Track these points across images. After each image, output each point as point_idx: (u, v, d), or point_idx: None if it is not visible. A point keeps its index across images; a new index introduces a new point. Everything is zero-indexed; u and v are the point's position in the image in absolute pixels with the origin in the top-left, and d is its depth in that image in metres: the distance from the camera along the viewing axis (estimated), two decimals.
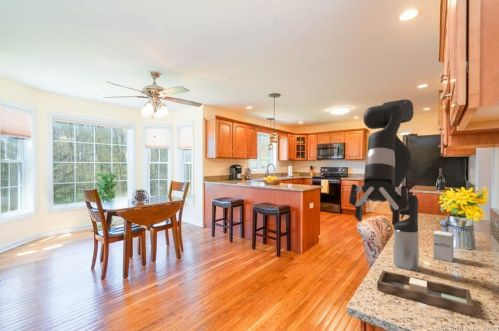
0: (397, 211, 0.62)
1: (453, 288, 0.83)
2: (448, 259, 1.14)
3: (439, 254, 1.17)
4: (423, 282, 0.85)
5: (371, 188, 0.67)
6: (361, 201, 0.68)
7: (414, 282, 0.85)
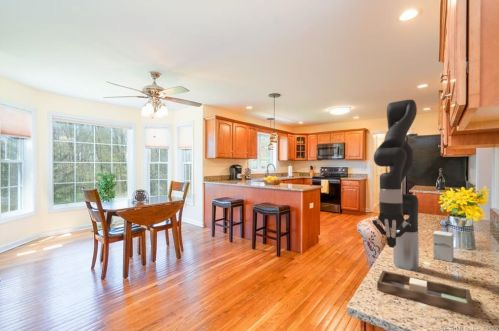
0: (394, 238, 0.89)
1: (453, 288, 0.83)
2: (448, 259, 1.14)
3: (439, 254, 1.17)
4: (423, 282, 0.85)
5: (386, 220, 0.90)
6: (388, 232, 0.90)
7: (414, 282, 0.85)
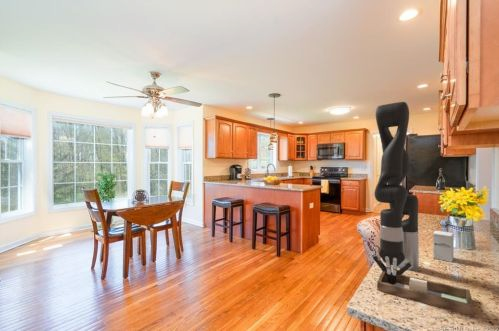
0: (395, 276, 0.89)
1: (453, 288, 0.83)
2: (448, 259, 1.14)
3: (439, 254, 1.17)
4: (423, 282, 0.85)
5: (386, 257, 0.89)
6: (389, 269, 0.90)
7: (414, 282, 0.85)
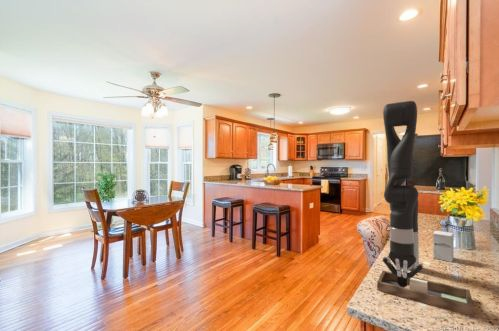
0: (405, 278, 0.87)
1: (453, 288, 0.83)
2: (448, 259, 1.14)
3: (439, 254, 1.17)
4: (423, 282, 0.85)
5: (397, 259, 0.87)
6: (399, 271, 0.88)
7: (414, 282, 0.85)
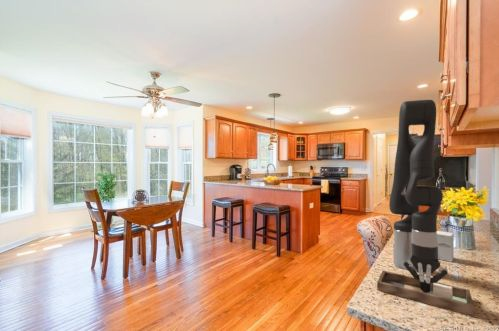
0: (428, 283, 0.83)
1: (453, 288, 0.83)
2: (448, 259, 1.14)
3: (439, 254, 1.17)
4: (448, 288, 0.81)
5: (419, 264, 0.83)
6: (422, 276, 0.83)
7: (438, 288, 0.81)
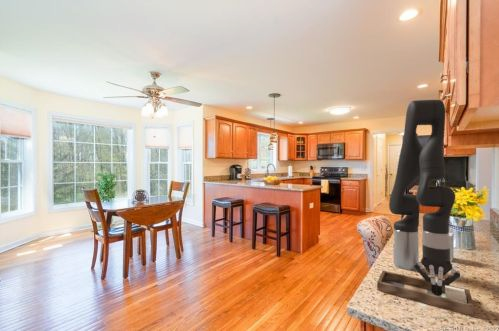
0: (440, 286, 0.81)
1: None
2: None
3: None
4: (461, 291, 0.79)
5: (431, 266, 0.81)
6: (433, 279, 0.82)
7: (451, 291, 0.79)
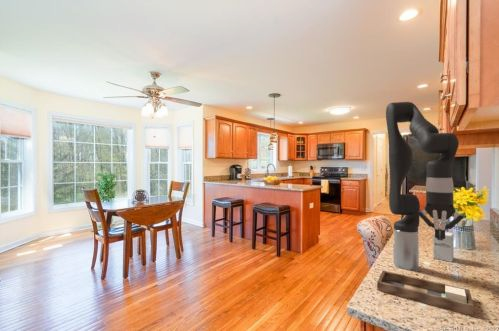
0: (443, 230, 0.83)
1: None
2: (448, 259, 1.14)
3: (439, 254, 1.17)
4: (461, 291, 0.79)
5: (434, 211, 0.83)
6: (437, 223, 0.83)
7: (451, 291, 0.79)
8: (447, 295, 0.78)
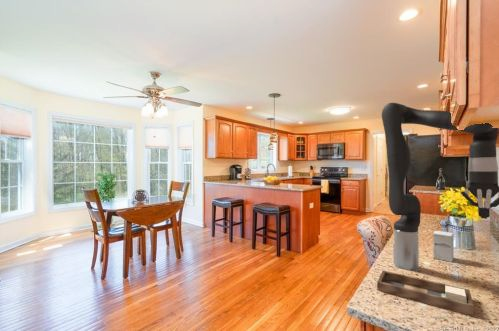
0: (488, 209, 0.85)
1: None
2: (448, 259, 1.14)
3: (439, 254, 1.17)
4: (461, 291, 0.79)
5: (479, 190, 0.86)
6: (481, 202, 0.86)
7: (451, 291, 0.79)
8: (447, 295, 0.78)
